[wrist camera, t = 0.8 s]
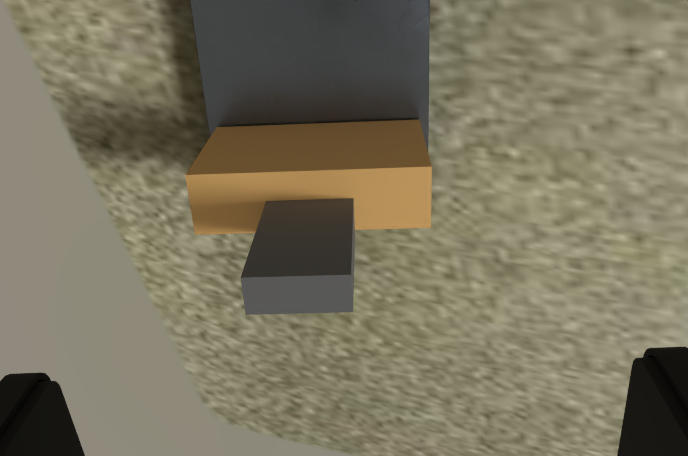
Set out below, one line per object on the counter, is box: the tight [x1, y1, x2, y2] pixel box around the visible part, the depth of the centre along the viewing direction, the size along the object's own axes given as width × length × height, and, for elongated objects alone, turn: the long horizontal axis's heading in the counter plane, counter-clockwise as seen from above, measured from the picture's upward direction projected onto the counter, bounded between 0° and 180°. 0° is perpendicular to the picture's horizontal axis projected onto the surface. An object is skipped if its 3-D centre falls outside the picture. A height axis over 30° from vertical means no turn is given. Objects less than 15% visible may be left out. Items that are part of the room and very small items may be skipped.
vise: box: [190, 0, 430, 151], centre depth 30 cm, size 20×12×9 cm, turn 3°
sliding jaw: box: [185, 120, 432, 315], centre depth 30 cm, size 3×11×14 cm, turn 92°
